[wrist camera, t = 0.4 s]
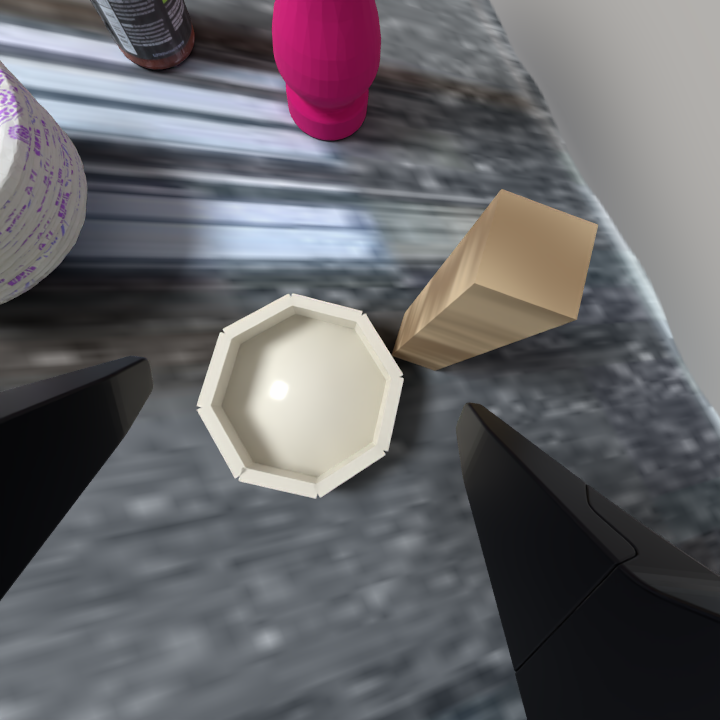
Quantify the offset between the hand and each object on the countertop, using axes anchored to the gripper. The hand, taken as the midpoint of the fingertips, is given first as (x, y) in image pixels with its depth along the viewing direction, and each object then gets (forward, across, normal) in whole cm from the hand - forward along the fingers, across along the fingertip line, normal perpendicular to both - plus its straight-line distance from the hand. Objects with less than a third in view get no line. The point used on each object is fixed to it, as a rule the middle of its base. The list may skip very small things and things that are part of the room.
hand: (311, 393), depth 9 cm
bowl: (+11, +1, +8) cm, 14 cm away
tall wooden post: (+14, -6, +4) cm, 16 cm away
